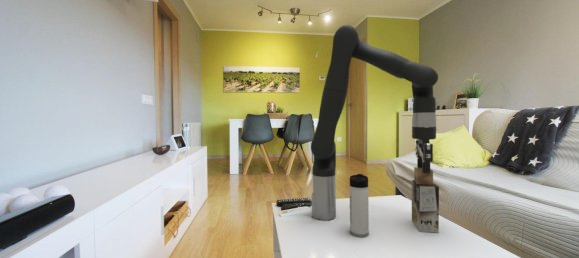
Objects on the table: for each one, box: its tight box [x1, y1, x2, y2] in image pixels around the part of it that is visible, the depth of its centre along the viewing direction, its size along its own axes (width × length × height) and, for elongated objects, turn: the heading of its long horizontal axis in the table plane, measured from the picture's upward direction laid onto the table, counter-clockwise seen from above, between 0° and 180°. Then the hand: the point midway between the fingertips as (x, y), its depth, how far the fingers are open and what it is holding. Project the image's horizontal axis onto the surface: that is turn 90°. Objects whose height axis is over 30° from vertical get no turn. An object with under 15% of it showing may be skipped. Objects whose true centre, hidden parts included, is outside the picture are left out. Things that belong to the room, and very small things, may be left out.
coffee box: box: [411, 179, 440, 233], centre depth 85 cm, size 9×6×16 cm
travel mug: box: [349, 173, 370, 238], centre depth 81 cm, size 6×7×20 cm
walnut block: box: [413, 166, 434, 185], centre depth 85 cm, size 5×5×5 cm
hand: (423, 170), depth 84 cm, fingers open, 8 cm apart
